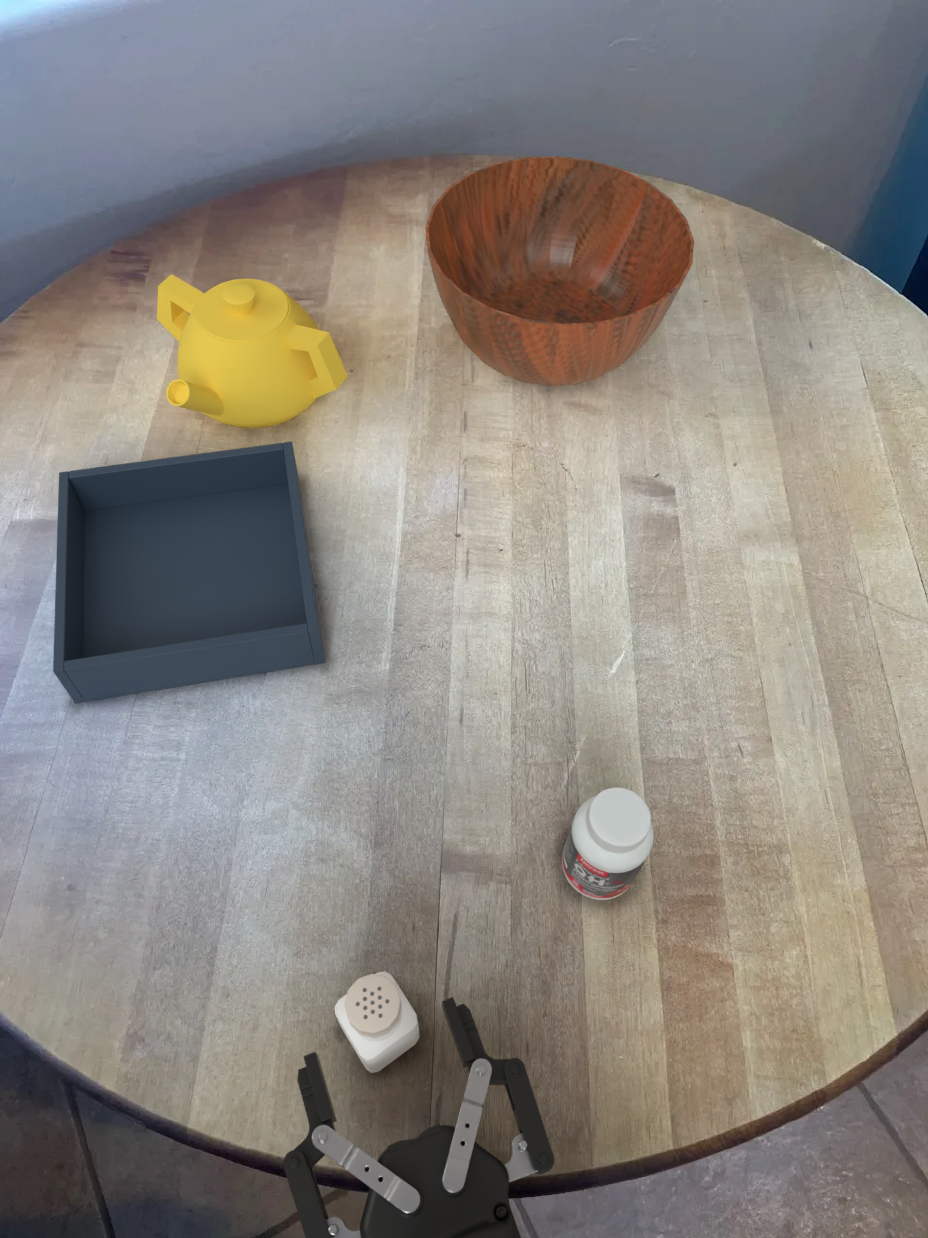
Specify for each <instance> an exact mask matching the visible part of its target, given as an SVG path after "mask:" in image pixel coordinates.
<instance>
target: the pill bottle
mask: <svg viewBox="0 0 928 1238" xmlns="http://www.w3.org/2000/svg"><path fill="white" fill-rule="evenodd" d="M654 838H655V831H654V825H653V822H652V814H651V811H650V808H649V806H648V804H647V803H646V801H645V800H644V799H643V798H642V796H641V795H640V794H638V793H637V792H635V791H633V790H631V789H629V788H626V787H619V786H614V787H609V788H606V789H603V790H602V791H600V792H598V794H596V795H594V796H592V797H590V798H588V799H587V800H586V801H584V802H583V803H582V804H581V806H579V808H578V809H577V811H576V813H575V815H574V816H573V819H572V823H571V826H570V829H569V832H568V835H567V838H566V840H565V843H564V846H563V849H562V850H563V851H562V855H561V867H562V871H563V874H564V877H565V878H566V880H567V882H568V883H569V885H570V886H571V887H572V888H573V890H575V891H576V892H577V893H579V894H581V896H584V897H586V898H588V899H591V900H596V901H607V900H612V899H614V898H618V897H620V896H621V895H623V894H624V893H625V892H626V891H627V890H629V888H630V887H631V886H632V884H633V882H634V881H635V879H636V878H637V876H638V874H639V873H640V871H641V869H642V867H644V866H643V865H644V864H645V862H646V860H647V859H648V857H649V855H650V853H651V851H652V848H653V843H654V840H655V839H654Z"/></svg>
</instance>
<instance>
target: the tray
mask: <svg viewBox="0 0 928 1238" xmlns="http://www.w3.org/2000/svg"><path fill="white" fill-rule="evenodd" d="M57 494H58V495H57V497H58V498H57V524H56V525H57V528H56V530H57V531H56V558H55V560H56V561H55V562H56V564H55V591H54V592H55V595H54V625H53V627H54V629H53V656H52V657H53V658H52V659H53V662H52V672H53V674H54V675H55V676H56V678H57V679H58V681H59V682H60V684H61V685H62V687H63V689H65V691H66V692H67V694H68V696H69V697H70V698H71V699H72V701H73V703H74V704H79V703H86V702H92V701H93V702H94V701H98V700H105V699H110V698H117V697H123V696H124V697H125V696H130V695H136V694H141V693H148V692H153V691H160V690H166V689H173V688H180V687H185V686H190V685H197V684H204V683H210V682H217V681H222V680H228V679H236V678H240V677H241V678H242V677H246V676H253V675H259V674H265V673H271V672H277V671H284V670H290V669H296V668H297V669H298V668H302V667H308V666H315V665H320V664H325V663H326V658H325V651H324V644H323V637H322V631H321V623H320V616H319V609H318V601H317V596H316V595H317V594H316V587H315V581H314V575H313V567H312V566H313V565H312V561H311V553H310V546H309V539H308V533H307V525H306V517H305V511H304V504H303V497H302V490H301V483H300V476H299V471H298V467H297V461H296V456H295V451H294V445H293V441H285V442H278V443H270V444H264V445H263V444H262V445H255V446H246V447H241V448H239V447H238V448H231V449H225V450H218V451H209V452H202V453H201V452H200V453H195V454H186V455H179V456H170V457H163V458H157V459H150V460H142V461H134V462H126V463H118V464H113V465H105V466H98V467H97V466H95V467H90V468H89V467H88V468H82V469H74V470H69V471H67V470H66V471H60V472H59V473H58V493H57Z"/></svg>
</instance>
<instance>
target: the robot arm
mask: <svg viewBox="0 0 928 1238" xmlns="http://www.w3.org/2000/svg"><path fill="white" fill-rule="evenodd" d="M441 1008H442V1011H443V1013H444V1014H443V1015H444V1017H445V1021H446V1022H447V1026H448V1029H449V1031H450V1034H451V1037H452V1040H453V1043H454V1045H455V1048H456V1052H457V1054H458V1056H459V1059H460V1062H461V1066H462V1068H463V1069H465V1068H466V1069H467V1071H468V1078H467V1082H466V1085H465V1090H464V1094H463V1097H462V1102H461V1104H460V1109H459V1113H458V1117H457V1119H456V1123H455V1126H453V1125H449V1124H440V1123H438V1124H435V1125H433V1126H431V1127H428V1128H426V1129H425V1130H424V1131H423V1132H421V1133H420V1134H419V1135H418V1136H417V1137H415V1138H410V1139H403V1140H399V1141H396V1142H394V1143H391V1144H389V1145H387V1147H386V1149H384V1151H382V1152H381V1154H380V1155H379V1157H378V1159H375V1158H373V1157H371V1155H369V1154H368V1153H366V1152H365V1151H363V1150H362V1149H361V1148H360V1147H358V1146H356V1145H355V1144H354V1143H352V1142H351V1141H350V1140H348V1139H347V1138H346V1137H344V1136H343V1135H341V1134H340V1133H339V1132H337V1131H336V1127H335V1122H337V1117H336V1114H335V1113H336V1112H335V1110H334V1107H333V1101H332V1099H331V1096H330V1092H329V1088H328V1085H327V1081H326V1077H325V1074H324V1070H323V1067H322V1063H321V1061H320V1058H319V1057H320V1056H319V1055H318V1053H317V1052H316V1051H313V1052H310V1053H308V1054H306V1055H303V1059H304V1064H305V1066H304V1067H302V1068H299V1069H298V1070H297V1084H298V1088H299V1091H300V1096H301V1098H302V1099H301V1100H302V1103H303V1106H304V1107H303V1108H304V1111H305V1115H306V1118H307V1121H308V1125H309V1126H308V1127H309V1129H308V1133H307V1135H306V1136H305V1138H304V1139H303V1141H301V1142H300V1143H298V1145H297V1146H296V1147H295V1148H294V1149H292V1150H290V1151H288V1152H287V1153H286V1154H285V1155H284V1158H283V1160H282V1167H283V1170H284V1173H285V1176H286V1179H287V1183H288V1185H289V1186H288V1187H289V1190H290V1192H291V1195H292V1198H293V1202H294V1205H295V1209H296V1211H297V1214H298V1217H299V1221H300V1225H301V1227H302V1230H303V1234H304V1236H305V1238H522V1236H521V1234H520V1231H519V1227H518V1225H517V1222H516V1219H515V1217H514V1214H513V1211H512V1208H511V1205H510V1199H509V1198H510V1197H509V1187H510V1183H512V1182H515V1181H518V1180H521V1179H522V1178H526V1177H528V1176H532V1175H534V1174H537V1175H543V1174H545V1173H547V1172H549V1171H551V1169H552V1168H554V1165H555V1156H554V1153H553V1150H552V1147H551V1144H550V1141H549V1137H548V1134H547V1131H546V1129H545V1124H544V1122H543V1119H542V1115H541V1112H540V1109H539V1106H538V1103H537V1100H536V1096H535V1093H534V1091H533V1088H532V1085H531V1081H530V1078H529V1075H528V1071H527V1069H526V1066H525V1063H524V1062H523V1060H522V1059H519V1058H518V1057H510V1058H493V1057H491V1056H490V1055H489V1054H488V1053H487V1052H486V1050H485V1047H484V1044H483V1042H482V1039H481V1036H480V1034H479V1031H478V1027H477V1025H476V1023H475V1020H474V1017H473V1014H472V1013H471V1009H470V1008H469V1007H468V1006H467V1005H466V1004H465V1003H461V1004H459V1005H457V1003H456V1001H455V998H454V996H451V997H449V998H446V999H443V1000H441ZM489 1086H504V1088H505V1091H506V1094H507V1097H508V1100H509V1101H508V1102H509V1104H510V1107H511V1110H512V1113H513V1116H514V1121H515V1123H516V1126H517V1129H518V1133H519V1134H517V1135H515V1136H514V1137H513V1138H512V1140H511V1142H510V1153H511V1154H510V1158H509V1161H507V1163H504V1162H503V1161H502V1160H501V1159H500V1158H499V1157H497V1156H496V1155H494V1154H493V1153H492V1152H490V1151H489V1150H487V1149H486V1148H485V1147H483V1146H482V1145H481V1144H479V1142H477V1141H476V1138H477V1134H478V1130H479V1125H480V1121H481V1119H482V1114H483V1109H484V1105H485V1101H486V1097H487V1094H488V1089H489ZM325 1156H327V1157H328V1158H330V1159H331V1160H332V1161H333V1162H335V1163H336V1164H338V1165H339V1166H340V1167H342V1168H343V1169H344V1170H346V1171H347V1172H348V1173H350V1174H351V1175H352V1176H354V1177H355V1178H356V1179H358V1180H359V1181H360V1182H362V1183H363V1184H365V1185H366V1186H367V1187H368V1188H369V1189H368V1193H367V1196H366V1201H365V1204H364V1208H363V1211H362V1215H361V1219H360V1223H359V1229H357V1230H352V1229H350V1228H349V1227H348V1226H347V1224H346V1222H345V1220H344V1219H343V1218H342V1217H340V1216H331V1217H329V1215H328V1213H327V1209H326V1205H325V1202H324V1199H323V1196H322V1193H321V1191H320V1187H319V1185H318V1181H317V1178H316V1175H315V1171H314V1169H313V1167H315V1166H316V1164H318V1163H319V1161H321V1160H322V1159H323V1158H324V1157H325Z"/></svg>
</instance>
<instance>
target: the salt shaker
mask: <svg viewBox="0 0 928 1238" xmlns="http://www.w3.org/2000/svg"><path fill="white" fill-rule="evenodd" d="M334 1014H335V1017H336V1019H337V1021H338V1023H339V1026H340V1027H341V1030H342V1032H343V1033H344V1035H345V1037H346V1038H347V1040H348V1042H349V1043H350V1044H351V1047H352V1048H353V1050H354V1051H355V1053H356V1055H357V1057H358V1058H359V1061H361V1063H362V1065H363V1066H364V1068H365V1070H367V1071H368V1072H369V1073H371V1074H374V1073H378V1072H380V1071H382V1070H383V1069H384V1068H386V1067H387V1066H388V1065H389V1064H391V1063H392V1062H393V1061H395V1060H397V1059H398V1058H399V1057H400V1056H402V1055H403V1054H404V1053H406V1052H407V1051H408V1050H410V1049H411V1048H413V1047H414V1046H416V1044H417V1043H418V1041H419V1039H420V1036H421V1035H420V1027H419V1019H418V1015H417V1013H416V1011H415V1010H414V1008H413V1006H412V1004H411V1003H410V1001H409V999H408V998H407V996H406V995H405V994H404V992H403V991H402V989H401V987H400V986H399V984H398V982H397V981H396V980H395V978H394V976H393V975H392V974H391V973H388V972H387V971H377V972H376V973H369V974H366V975H364V976H361V977H358V978H357V979H356V980H355V981H354V982H353V984H352V985H351V986H350V987H349V988H348V989H347V992H346V994H345V995H343V996H342V997H341V998H339V999H338V1000H337V1002H336V1003H335V1005H334Z"/></svg>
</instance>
